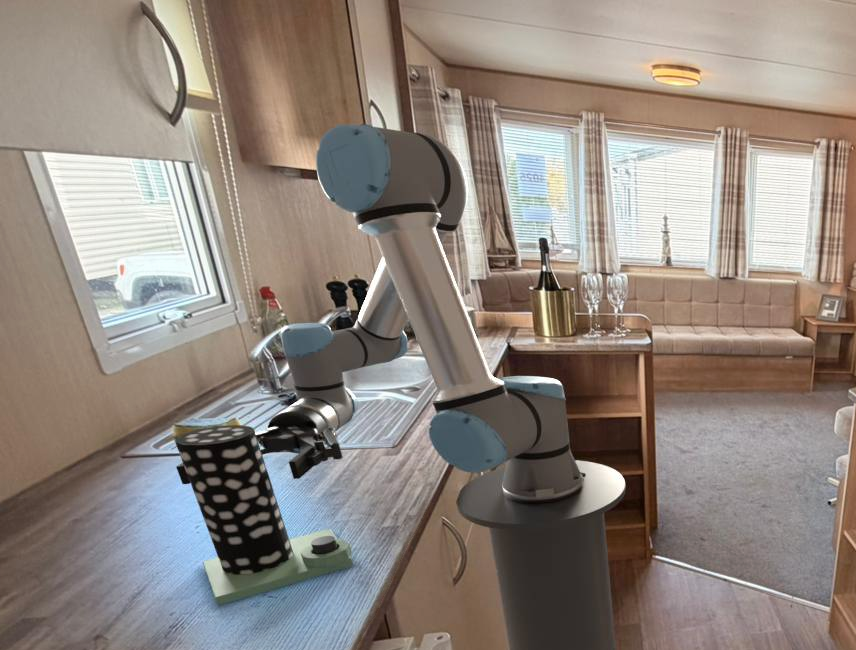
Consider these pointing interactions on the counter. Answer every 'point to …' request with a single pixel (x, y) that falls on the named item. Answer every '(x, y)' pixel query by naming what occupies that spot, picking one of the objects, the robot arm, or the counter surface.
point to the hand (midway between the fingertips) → (239, 472)
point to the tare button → (324, 545)
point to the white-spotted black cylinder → (235, 497)
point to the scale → (279, 570)
